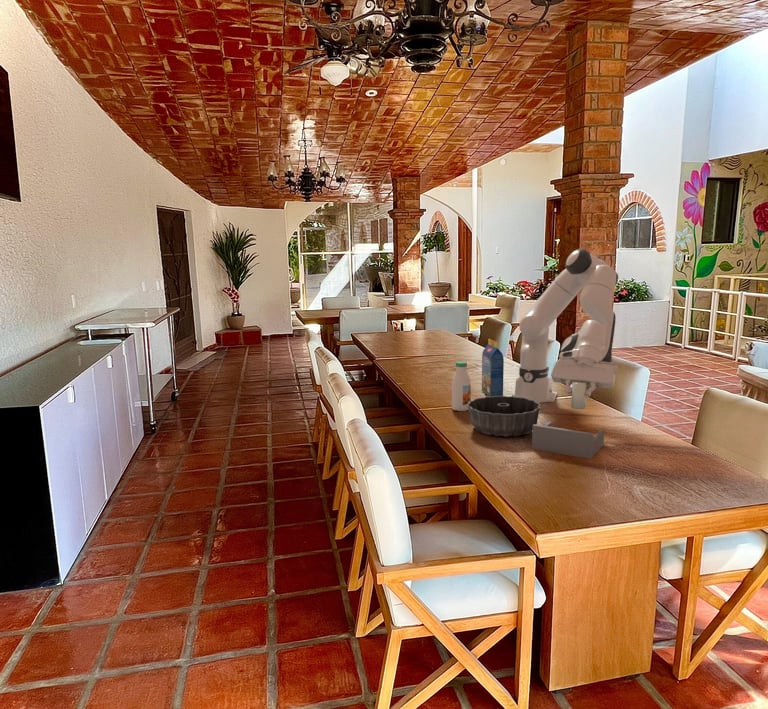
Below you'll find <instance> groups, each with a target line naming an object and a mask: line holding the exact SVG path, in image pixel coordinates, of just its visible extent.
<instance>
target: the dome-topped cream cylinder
mask: <svg viewBox="0 0 768 709" xmlns="http://www.w3.org/2000/svg"><path fill="white" fill-rule="evenodd" d="M571 388H572V394H571V402H570V403H571V405H570V407H571V408H572V409H574V410H585V409H586V398H587V396H585V392H586V391H585V390H586V389H587V386H586V382H582V381H574V382H572V384H571Z"/></svg>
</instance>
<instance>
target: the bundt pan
mask: <svg viewBox="0 0 768 709" xmlns="http://www.w3.org/2000/svg"><path fill="white" fill-rule="evenodd" d="M467 407H468V408H469V410H468V413H469V418H470V423H471V425H472V426H473V427H474V429H475V430H476V431H477V432H479V433H481V434H482V433H483V434H485V435H489V436H492V435H494V437H496V438H498V437H499V436H503V437H504V438H505V437H506V438H507V437H511V436H513V437H516V438H517V437H519V436H520V435H522V436H524V435H526V434H528V433H531V432H532V430H533V425H534V424H536V425H538V419H539V413H540V410H541V409H542V408H541V403H537V402H535V401H534V400H530V399H527V398H521V397H514V396H512V395H511V396H510V395H509V396H506V395H503V396H492V397H490V396H484V397H478V398H474V399H471V401H469V402H468V404H467Z"/></svg>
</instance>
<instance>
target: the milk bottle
mask: <svg viewBox="0 0 768 709" xmlns="http://www.w3.org/2000/svg"><path fill="white" fill-rule="evenodd" d="M467 367H468V362H467V361H462V360H461V361H455V369H456V370H455V372H454V375H453V377H452V381H451V409H452V410H453V411H456V410H457V411H458V412H467V410H468V411H469V408H468V407H467V404H468V402H469V401H472V398H471V396H472V394H471V393H472V392H471V388H472V387H471V386H472V385H471V379H470V376H469V373H468V371H467Z"/></svg>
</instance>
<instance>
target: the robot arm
mask: <svg viewBox="0 0 768 709" xmlns="http://www.w3.org/2000/svg"><path fill="white" fill-rule="evenodd" d="M564 265H565V266H564V267H565V269H564V270H562V271H561V272H559V274H558V275H557V277H555V279H553V281H552V282H551V283H550V285H548V287H547V288H546V289H545V290H544V291H543V293H542V294H541V295H540V296H539V298H538V299H536V301H535V302H534V303H533V304H532V306H530V308H529V309H528V310H527V311H526V312H525V313H524V315H522V317H520V321H519V323H518V326H519V331H520V332H521V334H522V340H521V346H520V364H519V365H520V367H519V368H518V375H519V376H518V377H517V378H516V380H515V387H514V388H515V389H514V393H512V394H511V396H514V397H521V398H527V399H530V400H534V401H535V402H537V403H539V404H541V403H553V402H555V400H556V398H557V395H558V392H557V391H554V390H553V382H554V383H561V384H566V388H567V389H566V393H567V395H572V382H574V381H582V382H586V387H589V388H588V389H587V388H586V390H585V391H586V392H585V396H586V397H591V396H592V395H591V394H592V392H594V391H595V390H596V389H597V388H605V389H606V388H607V389H612V388H613V387H614V386H615V381H616V380H615V378H616V374H617V373H618V371H619V370H618V368H619V366H618V364H616V363H615V362H613V356H612V355H613V351H612V350H613V344H614V336H615V328H616V318H617V317H616V314H615V312H614V308H613V301H612V300H613V295H614V293H615V288H616V285H617V284H618V281H619V274H618V272H616V270H615V269H614V268H613V267H612V266H611V265H609V264H607V263H606V262H605V261H604V260H603V259H601V258H599V257H597V256H596V255H594V254H592V253H590V252H589V251H588V250H586V249H583V248H578V249H575V250H573V251H572V252H571V253H569V255H568V256H567V258H566V259H565V264H564ZM580 291H581V292H580ZM579 292H580V296H579V303H580V306H581V308H582V310H583V311H584V312H585V314H587V315H588V316H589V317H590V318H591V319H587V320H585V321H584V322H583V324H582V326H581V328H580V329H579V330H578V332H575V333H574V334H573V333H572V334H570V335H568V336H567V337H565V339H564V340H562V341H563V342H561V346H560V353H559V356H558V357H559V359H557V360H556V361H555V363H554V365H553V367H552V369H551V374H550V378H551V379H552V380H551V379H550V378H549V369H550V367H549V366H547V359H548V345H549V343H548V342H549V332H550V326H551V325H552V324H553V323H554V322H555V321H556V319H557V318H558V317H559V316H560V315H561V314H562V313H563V311H564V310H565V309H566V308H567V307H568V305H570V303H571V302H572V301H573V300H574V299H575V297H576V296H577V295H578V294H579Z"/></svg>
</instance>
